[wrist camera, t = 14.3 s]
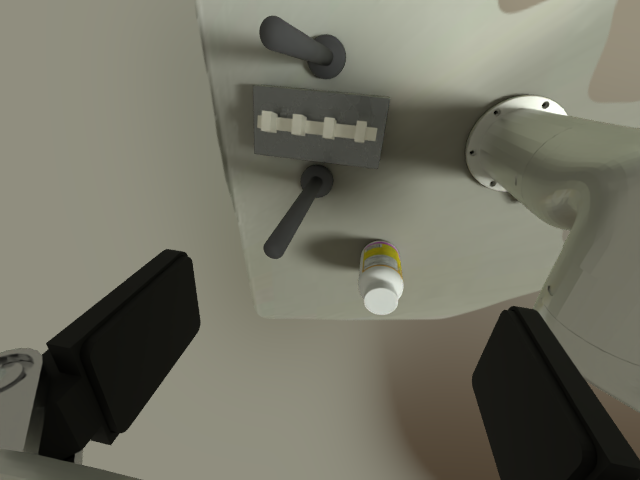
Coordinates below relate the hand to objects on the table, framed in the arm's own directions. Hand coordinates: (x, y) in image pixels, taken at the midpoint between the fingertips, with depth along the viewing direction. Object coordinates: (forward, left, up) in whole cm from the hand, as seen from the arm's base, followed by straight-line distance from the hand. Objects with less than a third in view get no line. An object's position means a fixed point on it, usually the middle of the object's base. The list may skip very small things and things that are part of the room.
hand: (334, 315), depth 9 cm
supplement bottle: (-18, +11, -40) cm, 46 cm away
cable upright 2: (-1, +11, -40) cm, 42 cm away
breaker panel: (+5, +5, -40) cm, 41 cm away
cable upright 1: (+11, -1, -40) cm, 42 cm away
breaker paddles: (+5, +5, -36) cm, 37 cm away
